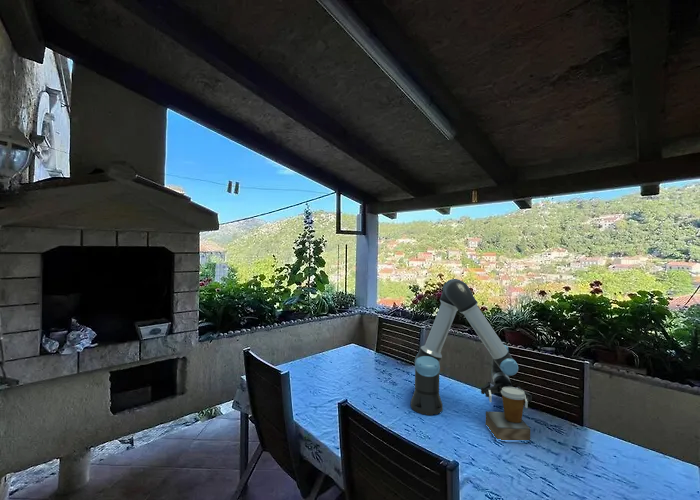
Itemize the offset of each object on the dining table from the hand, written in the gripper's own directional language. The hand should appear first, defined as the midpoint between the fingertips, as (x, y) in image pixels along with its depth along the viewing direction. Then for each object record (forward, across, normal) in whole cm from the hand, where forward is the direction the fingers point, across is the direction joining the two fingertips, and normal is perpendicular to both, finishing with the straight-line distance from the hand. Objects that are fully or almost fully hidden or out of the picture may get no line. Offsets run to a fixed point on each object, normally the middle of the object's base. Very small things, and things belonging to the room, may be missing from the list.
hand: (508, 401), depth 136 cm
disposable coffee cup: (-2, -2, -8) cm, 9 cm away
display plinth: (-2, 0, -14) cm, 14 cm away
